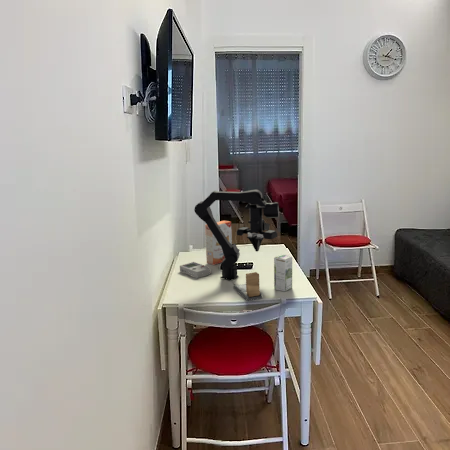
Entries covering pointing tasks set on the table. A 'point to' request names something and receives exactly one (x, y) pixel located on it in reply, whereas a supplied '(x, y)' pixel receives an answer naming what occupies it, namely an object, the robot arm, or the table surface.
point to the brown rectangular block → (252, 284)
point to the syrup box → (283, 272)
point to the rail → (242, 291)
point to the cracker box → (216, 243)
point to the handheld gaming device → (195, 269)
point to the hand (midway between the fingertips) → (257, 251)
